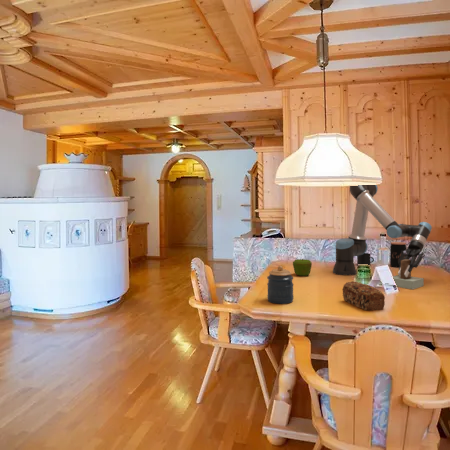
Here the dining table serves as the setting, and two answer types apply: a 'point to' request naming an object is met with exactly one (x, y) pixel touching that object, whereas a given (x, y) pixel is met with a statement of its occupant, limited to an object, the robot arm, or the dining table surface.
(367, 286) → the bread
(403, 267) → the slat
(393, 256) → the coffee jar
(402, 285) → the end cap
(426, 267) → the dining table surface
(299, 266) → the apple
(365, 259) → the mug
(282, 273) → the canister
